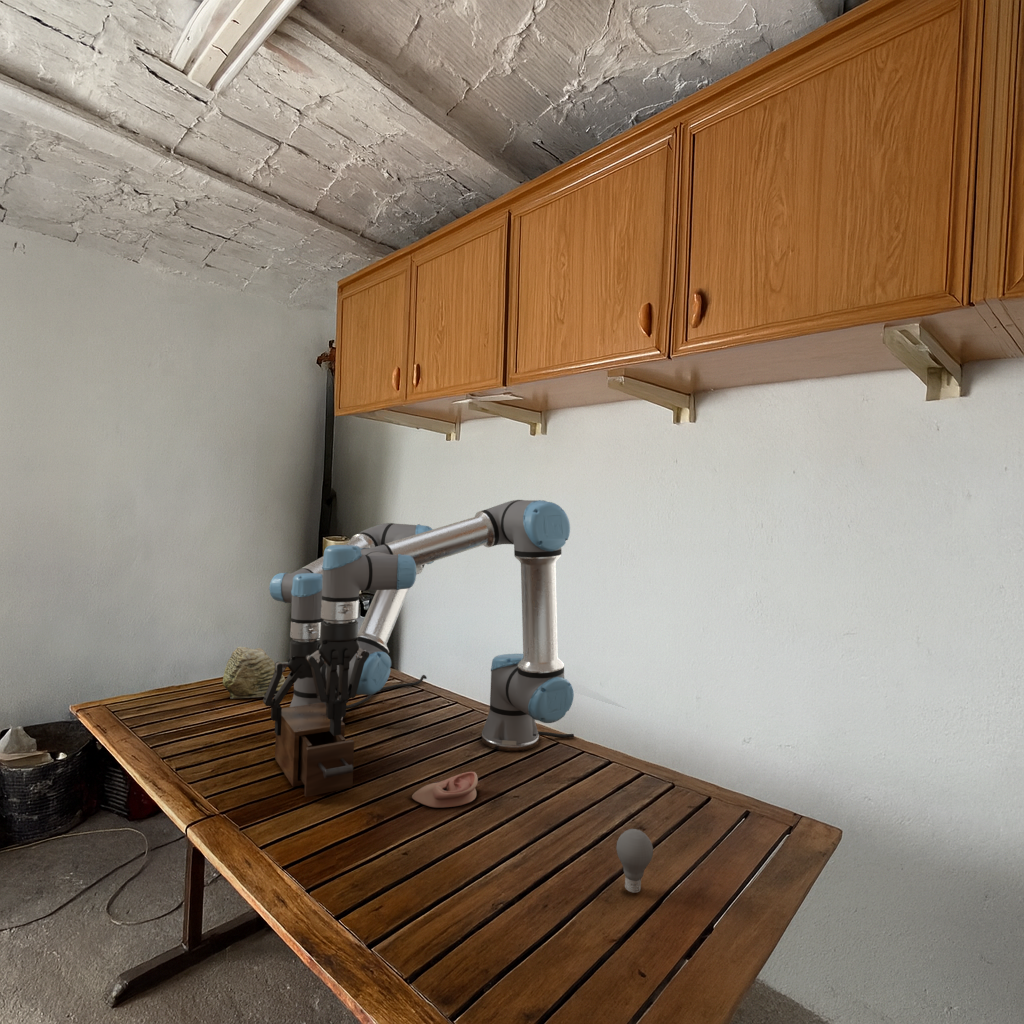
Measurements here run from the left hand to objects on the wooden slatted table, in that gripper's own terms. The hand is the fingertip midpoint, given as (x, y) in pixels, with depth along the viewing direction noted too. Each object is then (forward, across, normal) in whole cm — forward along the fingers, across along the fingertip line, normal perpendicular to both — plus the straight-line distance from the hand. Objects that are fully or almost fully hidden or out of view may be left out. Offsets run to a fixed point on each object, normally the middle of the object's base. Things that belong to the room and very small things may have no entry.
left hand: (303, 729), depth 152 cm
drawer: (+6, 0, -17) cm, 18 cm away
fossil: (+7, 0, +55) cm, 56 cm away
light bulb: (+8, +34, -77) cm, 85 cm away
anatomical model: (+7, +22, -33) cm, 40 cm away
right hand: (-7, 0, -24) cm, 25 cm away
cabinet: (+7, 0, -5) cm, 9 cm away
